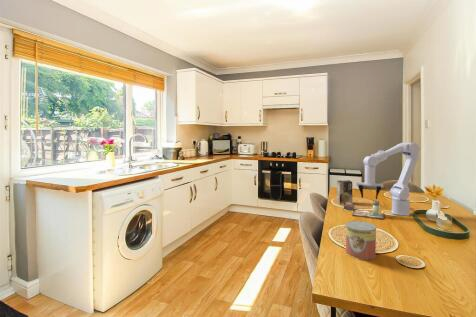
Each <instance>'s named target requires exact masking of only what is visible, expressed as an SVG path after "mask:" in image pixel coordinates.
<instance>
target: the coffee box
mask: <svg viewBox="0 0 476 317" xmlns="http://www.w3.org/2000/svg"><path fill="white" fill-rule="evenodd" d="M336 183H337V184H336V202H337V201H338V202H339V203H352V204H353V181H352V180H349V179H346V180H345V179H344V180H341V179H340V180H337V181H336ZM338 202H337V203H338ZM339 203H338V204H339Z"/></svg>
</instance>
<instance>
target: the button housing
mask: <svg viewBox="0 0 476 317" xmlns="http://www.w3.org/2000/svg"><path fill="white" fill-rule="evenodd" d="M354 208H355V204H352V206H346V204H343V210H344V209H346V210H345V211H351V210H355V209H354Z"/></svg>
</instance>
